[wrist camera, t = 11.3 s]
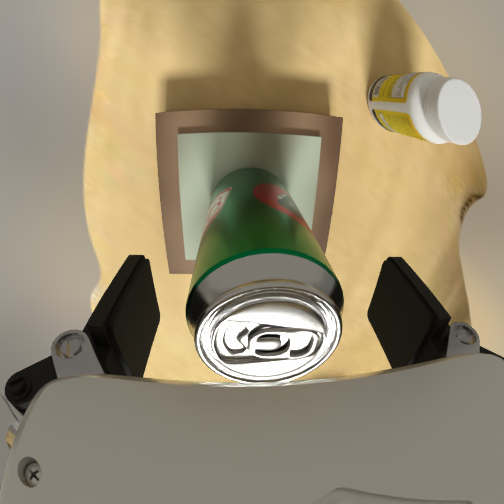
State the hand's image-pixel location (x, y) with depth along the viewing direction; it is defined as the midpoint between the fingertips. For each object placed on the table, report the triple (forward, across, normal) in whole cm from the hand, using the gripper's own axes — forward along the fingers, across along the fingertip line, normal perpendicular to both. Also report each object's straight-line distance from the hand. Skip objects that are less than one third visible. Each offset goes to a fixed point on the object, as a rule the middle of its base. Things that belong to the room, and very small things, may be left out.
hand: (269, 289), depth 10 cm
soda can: (+9, 0, 0) cm, 9 cm away
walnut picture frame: (+12, +1, -1) cm, 12 cm away
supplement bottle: (+12, -10, -9) cm, 18 cm away
